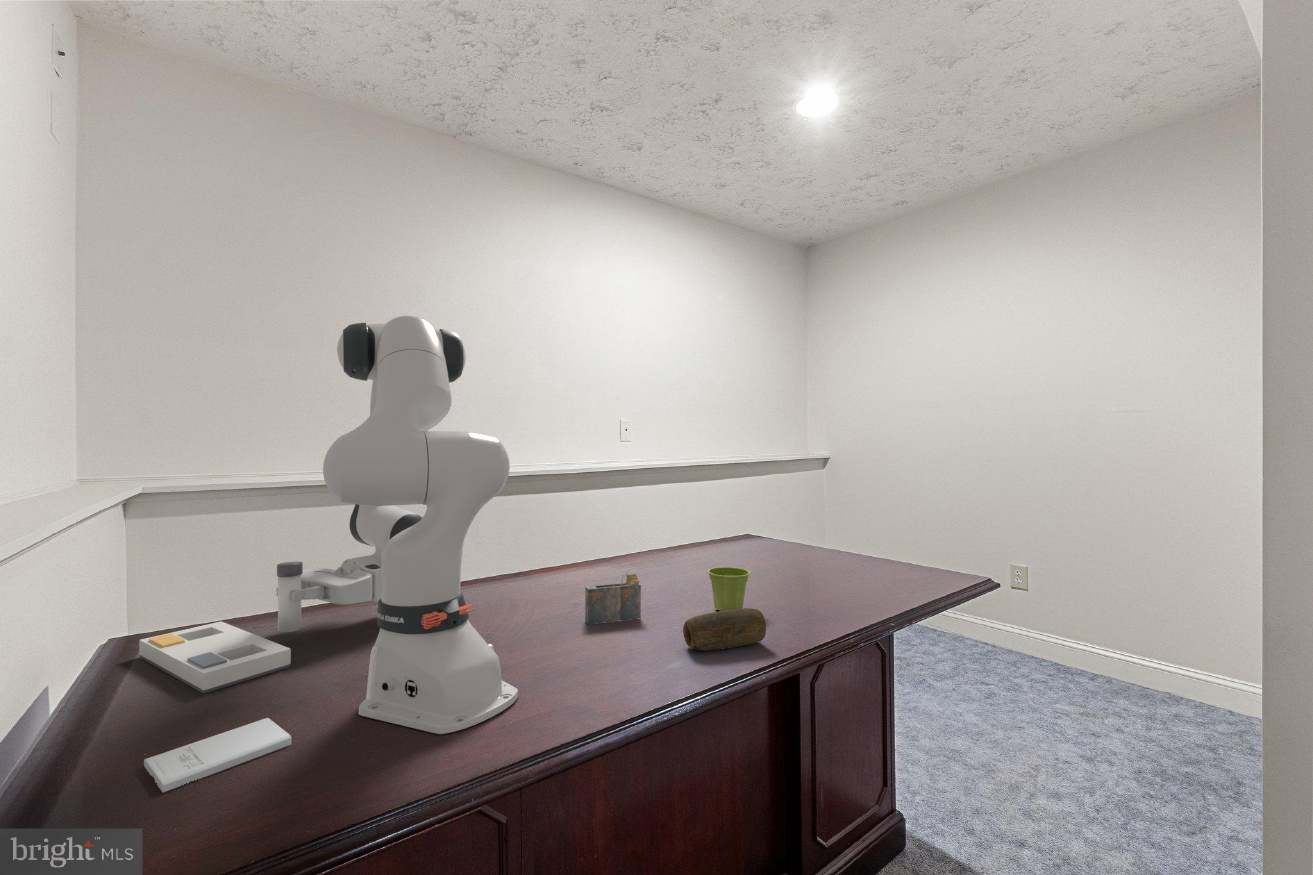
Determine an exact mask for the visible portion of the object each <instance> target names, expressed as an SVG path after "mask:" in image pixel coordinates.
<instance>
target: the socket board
mask: <svg viewBox="0 0 1313 875" xmlns="http://www.w3.org/2000/svg"><path fill="white" fill-rule="evenodd" d="M138 644H139V647H138V648H139V649H138V651H139V653H138V654H139V656H138V657H139V658H140V659H141V660H144V661H145V662H147V663H149V664H150V665H152V666H154V667H156V668H158V669H159V670H161V671H163V672H164V673H166V674H168V675H169V676H171V677H173V678H175V679H176V680H179V681H180V682H182V683H184V684H186V685H187V686H189V687H191V688H193V689H194V690H196V691H199V692H200V693H201V694H208V693H210V692H213V691H217V690H221V689H224V688H226V687H227V688H228V687H230V686H234V685H237V684H241V683H243V682H246V681H250V680H253V679H256V678H259V677H260V678H261V677H263V676H266V675H269V674H272V673H275V672H279V671H282V670H285V669H289V668H291V664H292V662H291V660H292V658H291V657H292V655H291V654H292V652H291V651H292V649H291V648H289V647H288V646H285V645H282V644H279V643H277V642H275V641H272V640H269V639H267V638H264V637H263V636H259V635H257V634H254V633H252V632H249V631H246V630H244V629H242V628H239V627H237V626H234V625H232V624H229V623H227V622H224V621H216V622H213V623H209V624H204V625H198V626H195V627H190V628H186V629H182V630H177V631H172V632H169V633H163V634H161V635H156V636H150V637H146V638H141V639H139V643H138Z"/></svg>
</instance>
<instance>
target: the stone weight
mask: <svg viewBox="0 0 1313 875" xmlns="http://www.w3.org/2000/svg"><path fill="white" fill-rule="evenodd" d="M682 633H683V634H682V635H683V639H684V642H685V643H686V645H687V646H688V648H690V649H691V650H698V651H714V649H718V650H723V649H722V648H725V649H729V648H728V647H732V648H737V647H736V646H740V647H742V646H741V645H744V646H748V644H749V645H753V644H757V643H759V642H761V641H763V640H764V639H765V637H766V633H767V625H766V620H765V617H764V614H763V613H762V612H761V611H760V610H759V609H756V608H751V607H750V608H749V607H746V608H745V607H743V608H742V609H734V610H727V611H715V612H710V613H705V614H701V615H700V614H699V615H696V616H694V617H690V618H688V619H686V620H685V622H684V624H683V627H682Z"/></svg>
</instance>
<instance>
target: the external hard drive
mask: <svg viewBox="0 0 1313 875" xmlns="http://www.w3.org/2000/svg"><path fill="white" fill-rule="evenodd" d="M292 742H293V739H292V736H291V734H290V733H288V732H287V731H286V730H284V728H282V727H280V726H279V725H278V724H277V723H276V722H274V721H273V720H272V719H270V718H269V717H266V718H262V719H260V720H256V721H254V722H251V723H248V724H245V725H242V726H239V727H236V728H233V729H231V730H226V731H225V732H222V733H218V734H215V735H212V736H210V737H206V738H203V739H200V740H198V741H195V742H192V743H189V744H186V745H183V746H180V747H177V748H174V749H171V750H168V751H166V752H163V753H160V754H157V755H154V756H150V757H148V758H144V759H143V766H144V768H145V769H146V771H147V772H148V774H149V775H150V776H151V777H152V778H153V779H154V782H155V784H156V783H157V784H156V785H157V787H158V788H159V789H160V791H161V793H165V792H168V791H171V790H174V789H176V788H179V787H182V786H185V785H187V784H190V783H191V782H190V781H193V782H195V781H198V780H200V779H204V778H205V777H208V776H212V775H213V774H216V773H220V772H222V771H225V770H226V769H227V770H228V769H229V768H232V767H235V766H237V765H240V764H243V763H246V762H248V761H252V760H254V759H257V758H259V757H262V756H265V755H267V754H270V753H272V752H275V751H276V752H277V751H278V750H281V749H283V748H286V747H288V746H292V745H293V744H292ZM197 779H198V780H197ZM194 780H195V781H194ZM189 782H190V783H189ZM186 783H187V784H186ZM184 784H185V785H184ZM181 785H182V786H181Z"/></svg>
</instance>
